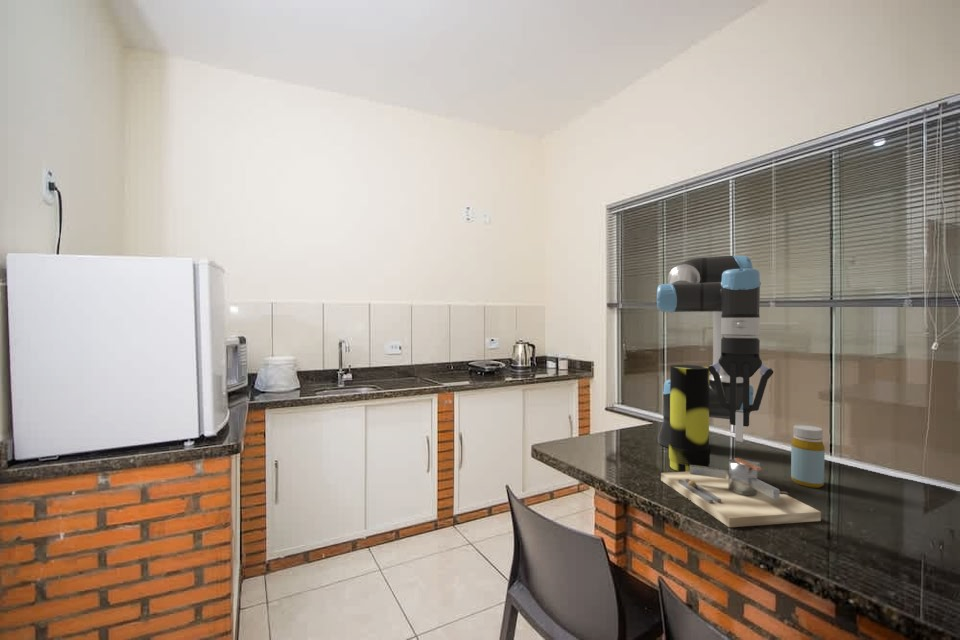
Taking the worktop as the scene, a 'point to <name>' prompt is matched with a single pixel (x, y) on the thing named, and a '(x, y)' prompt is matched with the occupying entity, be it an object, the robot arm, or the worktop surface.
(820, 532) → the worktop surface
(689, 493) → the stand
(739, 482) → the capstan
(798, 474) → the bottle
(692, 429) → the container
